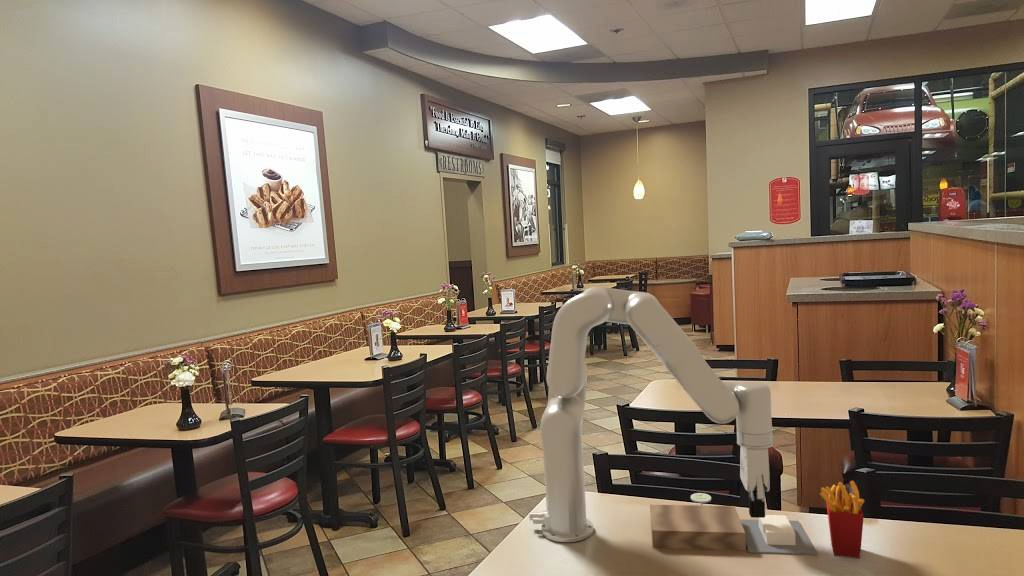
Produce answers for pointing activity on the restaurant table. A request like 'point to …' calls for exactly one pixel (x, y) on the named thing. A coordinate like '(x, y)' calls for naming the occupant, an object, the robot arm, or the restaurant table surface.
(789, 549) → the mat
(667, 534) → the board
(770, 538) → the cream rectangular block
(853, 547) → the french fries
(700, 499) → the sign
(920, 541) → the restaurant table surface
